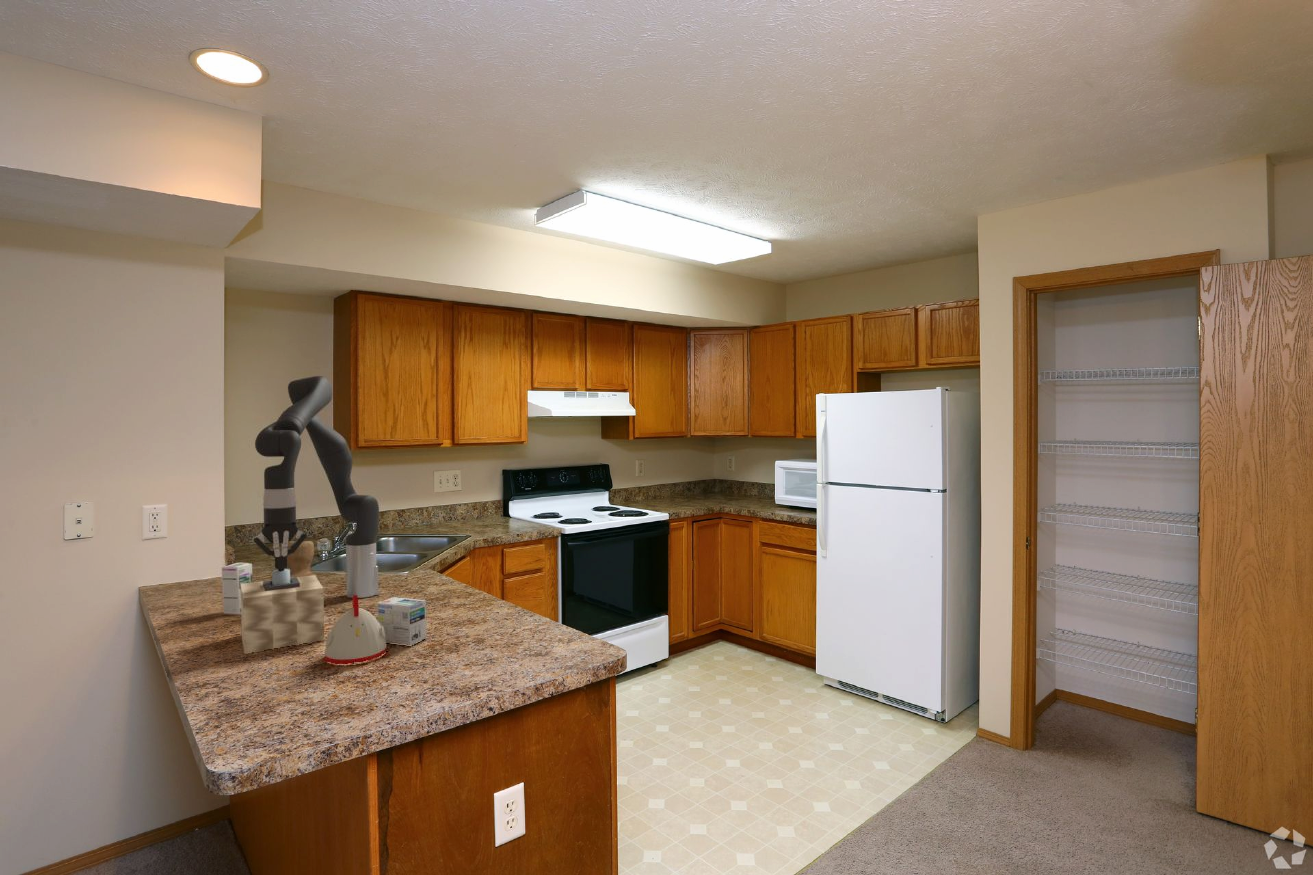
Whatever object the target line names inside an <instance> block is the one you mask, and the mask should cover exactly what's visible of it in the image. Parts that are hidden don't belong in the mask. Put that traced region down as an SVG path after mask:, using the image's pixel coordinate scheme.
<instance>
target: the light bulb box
mask: <svg viewBox="0 0 1313 875" xmlns="http://www.w3.org/2000/svg"><path fill="white" fill-rule="evenodd" d="M376 604H377V605H376V606H377V607H376V612H377V618H376V619H377V621H378V622H379V623H381V625H382V626H383V627H384V632H385V637H386V638H385V639H386V642H387V643H398V644H406V645H412V644H414V643H416V642H418V641H421V640H422V639H425V638H427V601H426V599H418V598H416V599H415V598H406V597H396V596H394V597H389V598H388V599H385V600H382V601H379V602H377V603H376Z"/></svg>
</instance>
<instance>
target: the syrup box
mask: <svg viewBox="0 0 1313 875" xmlns="http://www.w3.org/2000/svg"><path fill="white" fill-rule="evenodd" d="M251 582H254V581H253V564H252V562H251V563H250V562H235V563H232V564H229V565H225V566H221V584H222V585H221V588H222V610H223V612H222V613H223V614H224V615H236V616H237V615H238V616H239V615H241V584H242V583H251Z"/></svg>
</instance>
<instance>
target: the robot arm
mask: <svg viewBox="0 0 1313 875" xmlns="http://www.w3.org/2000/svg"><path fill="white" fill-rule="evenodd" d="M287 393H288V397H289V399H290V402H291V404H292V405H290V406H288V407H287V408H286V409H285V410H283V412H282V413H281V414H280V415H279V417H278V418H277V420H276V421H274V422H273V423H271V424H269V425H268V426H266V427H264V428H263V429H261V431H259V432H258V434H257V436H256V438H255V440H254V448H255V451H256V452H257V453H258V454H259V455H261V456H262V457H266V458H270V457H271V458H272V457H273V458H277V457H280V458H281V457H282V458H283V459H282V461H281V463H280V464H275V465H270V466H267V467H266V468H265V469H264V471H263V480H264V481H263V482H264V483H263V484H264V487H263V498H262V500H263V505H262V506H263V527H262V529H261V532H260V533H259V534H258V535H256V536H254V537H253V539H252V540H253V542H254V543H255V544H256V545H257V546H258V547H259V548H260V550H262V551H263V552H264V553H265V554H266V555H267V556H272V557H274V568H275V570H278V571H283V570H284V568H287V556H288V555H289V554H291V553H294V552H295V551H296V549H297V548H298V547H299V546H300V544H301V543H302V542H303V541H305V539H306V538H307V533H305V532H303V531H301V530H300V529H299V527H298V525H297V500H296V499H297V498H296V496H297V495H296V490H295V472H296V471H295V470H296V466H297V462H298V458H299V454H300V451H301V448H302V439H301V435H302V434H303V433H304V431H305V430H306V432H307V433H308V436H309V437H310V441H311V443H312V445H313V447H314V450H315V453H316V456H317V457H318V460H319V462H320V464H321V466H322V468H323V471H324V472H325V475H326V477H327V480H328V482H329V484H330V487H331V490H332V493H333V496H334V500H335V502H336V505H337V509H338V511H339V512H338V513H339V514H340V516H341V518H342V519H343V520H345V521H346V522H348V523H354V524H355V526H356V527H355V530H354V532H352V533H349V534H347V535H346V537H345V563H346V564H345V565H346V568H345V570H346V574H345V575H346V597H347V598H350V599H353V595H357V596H358V599H363V598H369V597H372V596H377V595H379V566H378V565H377V537H378V535H379V534H378V533H379V528H380V526H379V520H380V505H379V502H378V500H377V499H376V497H375V496H373V495H367V494H357V492H356V490H355V489H354V486H353V484H352V480H351V473H352V469H353V463H354V462H353V461H354V460H353V459H354V458H353V454H352V452H351V450H350V448H349V445H348V443H347V440H346V439H345V438H344V436H343V435H341V434H340V433H339V432H337V431H336V430H335V429H334V428H332V427H331V426H329V425H328V424H326V422H324V421H323V420H322V419H321V418H320V417H319V415H318V414H319V413H320V412H321V411H322V410H324V408H326V407H327V405H329V404H330V403H331V401H332V399H333V388H332V385H331V383H330V381H329V379H328V378H327V377H325V376H321V375H316V376H315V375H313V376H309V377H305V378H301V379H300V378H299V379H295V380H292V381H290V382H289V383H288V385H287ZM264 537H265V538H266V539H267V540H268V542H269V543H270V544H272V546H273V547H272V548H273V550H272V549H270V548H269V546H268V545H266V544H265V538H264ZM294 537H295V538H296V539H295V542H294V543H293V545H292V546H291V547H290V548H289V549H288V542H290V541H292V540H293V538H294ZM280 544H281V549H282V550H280Z"/></svg>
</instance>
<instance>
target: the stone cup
mask: <svg viewBox="0 0 1313 875" xmlns="http://www.w3.org/2000/svg"><path fill="white" fill-rule="evenodd" d="M295 541H296V540H295ZM295 541H294V540H293V541H292V540H291V541H290V542H288V549H289V548H290V547H291V546H292V545H293V543H294V542H295ZM314 544H315V543H314V542H313V541H311V540H308V541H306V540H304V541H303V542H302V543H301V544H300V546H299V547H298V548H297V549H296V551H295V552H294V553H291V554H289V555H288V556H287V568H284V569H290V578H294V577H302V576H311V575H315V576H316V578H317V579H318V575H317V574H316V573H314V572H312V571H311V564H312V562H313V559H314V556H315V545H314ZM280 549H281V550H282V548H280ZM281 550H280V551H281ZM269 580H272V575H271V576H270V578H269Z"/></svg>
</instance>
